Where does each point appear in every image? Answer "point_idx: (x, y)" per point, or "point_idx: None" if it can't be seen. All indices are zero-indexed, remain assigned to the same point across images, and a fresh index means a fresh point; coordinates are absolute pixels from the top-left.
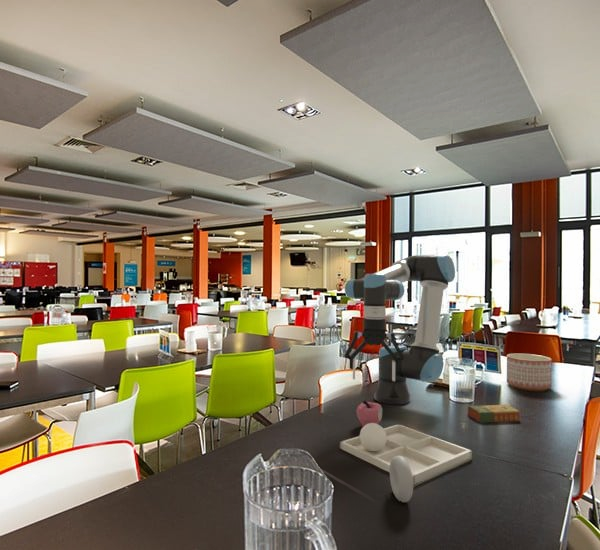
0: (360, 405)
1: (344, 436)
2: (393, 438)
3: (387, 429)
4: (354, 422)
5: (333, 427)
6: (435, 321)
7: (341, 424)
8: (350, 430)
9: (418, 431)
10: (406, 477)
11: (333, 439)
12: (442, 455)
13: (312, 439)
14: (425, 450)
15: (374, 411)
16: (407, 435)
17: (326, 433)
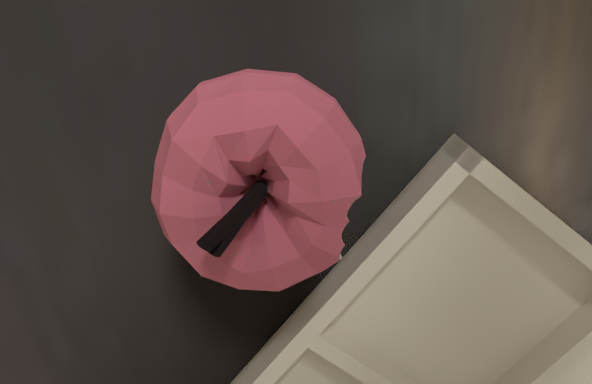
0: (177, 216)
1: (151, 297)
2: (419, 282)
3: (391, 255)
4: (144, 45)
5: (43, 185)
6: None
7: (71, 115)
8: None
9: (582, 241)
10: None
11: (109, 347)
12: None
13: (11, 374)
14: (565, 375)
15: (309, 276)
16: (503, 216)
17: (43, 285)
